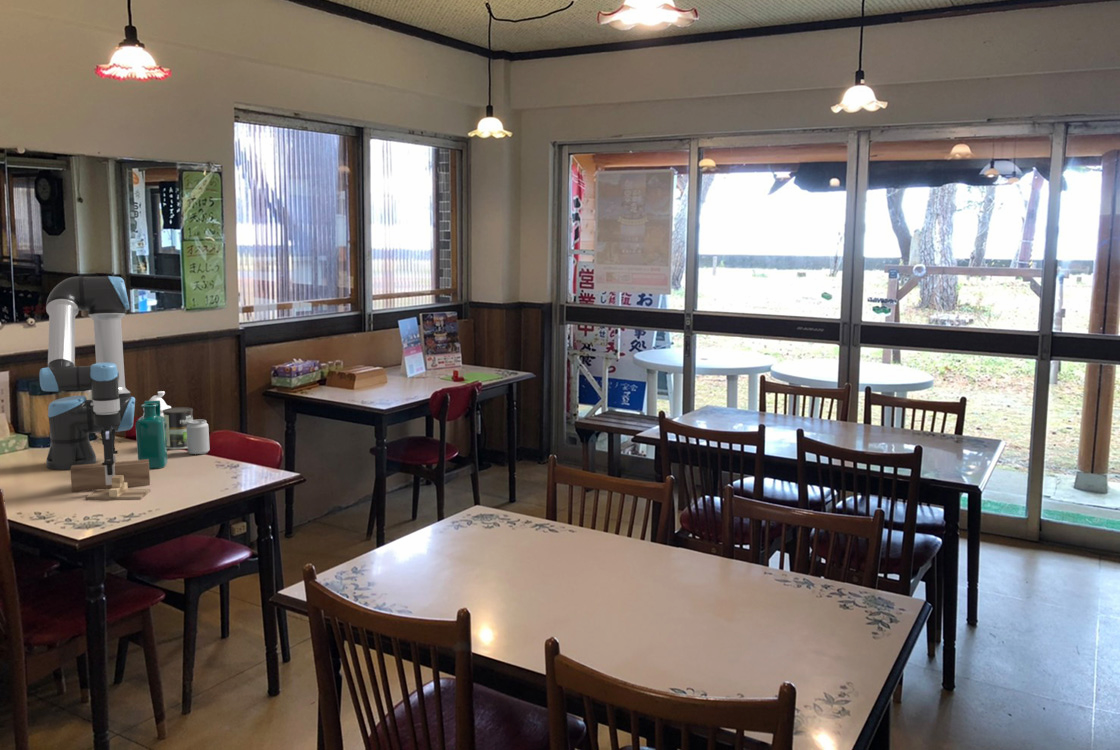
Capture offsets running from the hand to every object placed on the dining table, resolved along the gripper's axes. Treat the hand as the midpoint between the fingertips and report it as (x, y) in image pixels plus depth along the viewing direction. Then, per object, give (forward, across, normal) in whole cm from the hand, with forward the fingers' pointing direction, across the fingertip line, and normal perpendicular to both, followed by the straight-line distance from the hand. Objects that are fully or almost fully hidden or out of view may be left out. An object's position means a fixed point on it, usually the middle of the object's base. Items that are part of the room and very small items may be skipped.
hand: (111, 479), depth 282 cm
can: (+2, -35, +28) cm, 44 cm away
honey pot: (+2, -66, +14) cm, 68 cm away
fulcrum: (+2, +11, +2) cm, 12 cm away
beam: (+2, 0, 0) cm, 2 cm away
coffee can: (+2, -48, +22) cm, 52 cm away
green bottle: (+2, -22, +12) cm, 25 cm away
